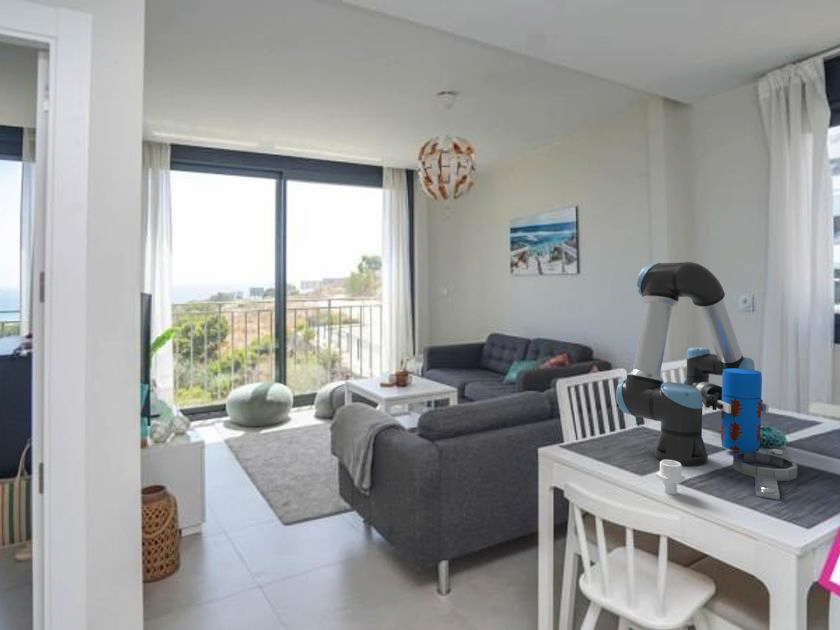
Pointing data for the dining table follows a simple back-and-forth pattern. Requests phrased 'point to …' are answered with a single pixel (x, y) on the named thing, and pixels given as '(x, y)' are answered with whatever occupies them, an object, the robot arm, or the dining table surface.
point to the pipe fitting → (670, 475)
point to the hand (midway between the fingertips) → (748, 409)
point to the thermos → (741, 409)
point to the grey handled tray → (766, 470)
